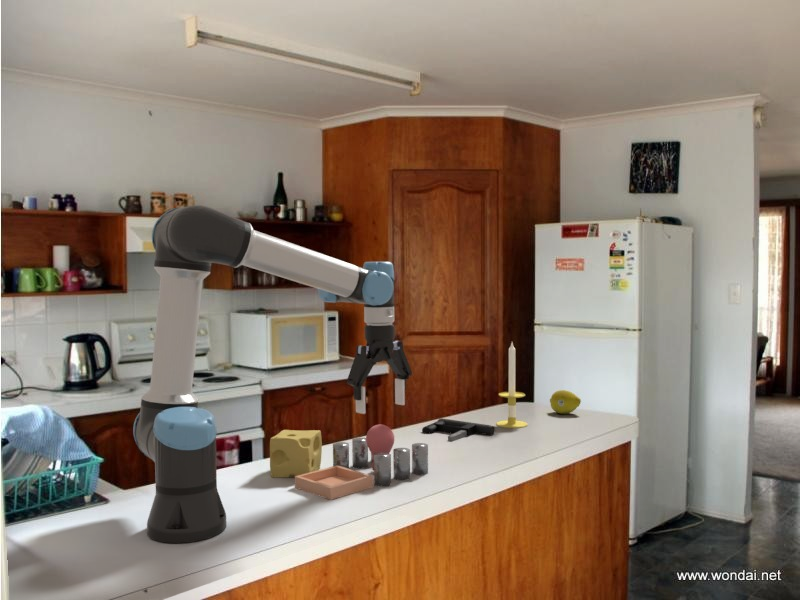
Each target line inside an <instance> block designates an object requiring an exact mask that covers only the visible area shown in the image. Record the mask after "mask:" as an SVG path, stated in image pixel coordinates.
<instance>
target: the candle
mask: <svg viewBox="0 0 800 600" xmlns="http://www.w3.org/2000/svg"><path fill="white" fill-rule="evenodd" d="M498 396H499V397H501V398H506V399H507V419H506V420H505V419H504V420H499V421H497V422H496V423H495V425H496V426H498V427H500V428H505V429H522V428H526V427H528V423H527V422H525V421H522V420H517V402H516V401H517V398H518V399H519V398H524V397H526V394H525V393H524V392H521V391H516V348H515V347H514V343H513V342H511V343H510V346H509V348H508V391H502V392H499V393H498Z"/></svg>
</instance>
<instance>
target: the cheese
mask: <svg viewBox="0 0 800 600" xmlns="http://www.w3.org/2000/svg"><path fill="white" fill-rule="evenodd" d="M322 442H323V441H322V431H321V430H319V429H318V430H315V429H313V430H312V429H311V430H310V429H309V430H294V429H292V430H291V429H283V430H281V431H280V432H279V433H277V434H276V435H273V436H272V437H270V439H269V469H270V470H269V471H270V477H271V478H285V479H286V478H287V479H288V478H295V476H298V475H302V474H306V473H310V472H313V471H317V470H321V463H322V454H323V453H322V452H323V451H322V449H323V448H322V447H323V443H322Z"/></svg>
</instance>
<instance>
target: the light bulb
mask: <svg viewBox="0 0 800 600" xmlns="http://www.w3.org/2000/svg"><path fill="white" fill-rule="evenodd" d="M365 438H366V443H367V446H368V451H370V455H371V454H372V459H373V462H371V468H372V469H371V470H372V471H373V472H374V454H376V453H389V454H390V453H391V450H393V448H394V447H393V446H394V444H395V434H394V431H393V430H392V429H391V428H390V426H387V425H385V424H380V423H379V424H375V425H373V426H372V427H370V429H368V431H367V433H366V436H365Z"/></svg>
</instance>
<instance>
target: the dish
mask: <svg viewBox="0 0 800 600" xmlns="http://www.w3.org/2000/svg"><path fill="white" fill-rule="evenodd" d="M294 488H295V489H299V490H302V491H304V492H307V493H310V494H313V495H316V496H319V497H322V498H325V499H327V500H330V501H331V500H334V499H338V498H340V497H345V496H348V495H351V494H353V493H354V494H355V493H358V492H361V491H364V490H368V489H371V488H374V475H371V474H369V473H364V472H362V471H358V470H356V469H351V468H349V469H348V468H345V467H341V466H338V465H336V466H333V465H332V466H330V467H325V468H320V469H319V470H317V471H313V472H310V473H306V474H302V475H298V476H295V477H294Z"/></svg>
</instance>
